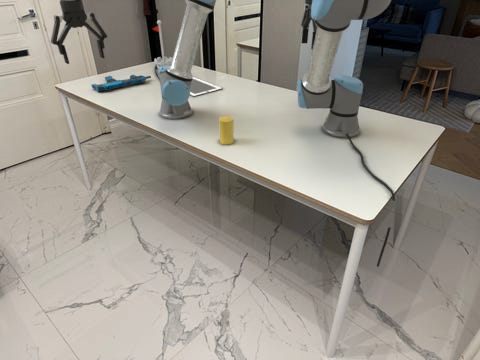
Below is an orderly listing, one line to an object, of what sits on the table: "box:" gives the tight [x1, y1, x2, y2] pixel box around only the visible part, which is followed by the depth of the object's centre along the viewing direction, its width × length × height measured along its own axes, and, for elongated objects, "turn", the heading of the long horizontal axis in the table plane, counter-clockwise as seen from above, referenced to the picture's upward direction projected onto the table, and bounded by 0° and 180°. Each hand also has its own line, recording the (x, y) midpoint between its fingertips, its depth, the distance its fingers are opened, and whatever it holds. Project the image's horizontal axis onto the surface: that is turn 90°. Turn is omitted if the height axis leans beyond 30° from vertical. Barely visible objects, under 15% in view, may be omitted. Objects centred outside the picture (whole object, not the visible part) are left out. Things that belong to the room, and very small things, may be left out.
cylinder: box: [218, 115, 235, 145], centre depth 138 cm, size 6×6×10 cm
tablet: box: [190, 76, 223, 97], centre depth 203 cm, size 32×20×1 cm, turn 41°
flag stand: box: [152, 19, 173, 69], centre depth 231 cm, size 13×13×30 cm
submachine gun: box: [90, 74, 152, 92], centre depth 206 cm, size 34×4×25 cm
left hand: (85, 60), depth 133 cm, fingers open, 13 cm apart
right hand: (309, 46), depth 157 cm, fingers open, 13 cm apart
